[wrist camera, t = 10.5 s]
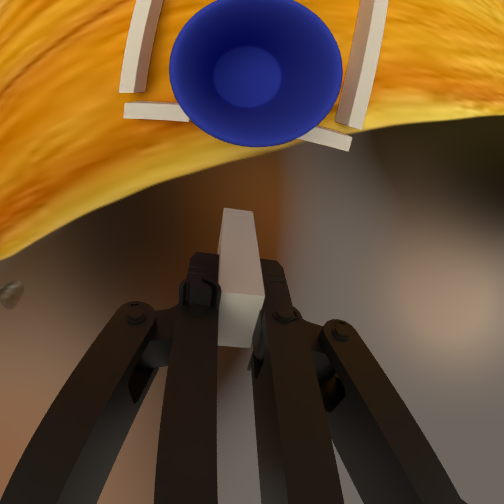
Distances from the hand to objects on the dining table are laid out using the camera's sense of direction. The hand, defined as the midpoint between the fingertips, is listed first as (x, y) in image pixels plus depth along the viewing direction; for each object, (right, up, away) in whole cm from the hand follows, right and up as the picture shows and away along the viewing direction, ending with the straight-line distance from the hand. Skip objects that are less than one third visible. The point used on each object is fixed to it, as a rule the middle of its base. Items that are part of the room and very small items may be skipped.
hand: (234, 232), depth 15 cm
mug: (+1, +15, +3) cm, 15 cm away
